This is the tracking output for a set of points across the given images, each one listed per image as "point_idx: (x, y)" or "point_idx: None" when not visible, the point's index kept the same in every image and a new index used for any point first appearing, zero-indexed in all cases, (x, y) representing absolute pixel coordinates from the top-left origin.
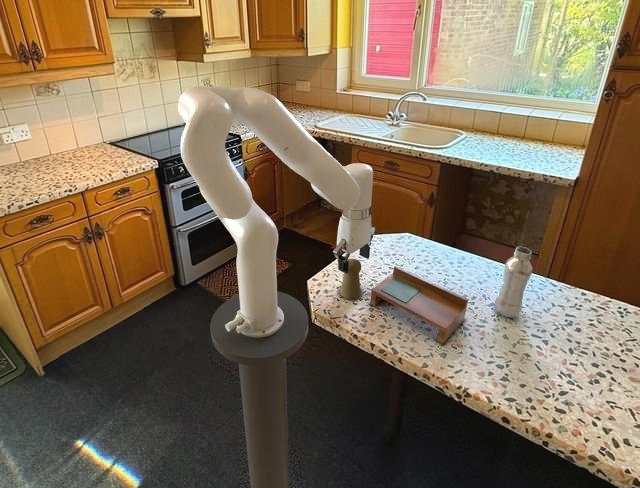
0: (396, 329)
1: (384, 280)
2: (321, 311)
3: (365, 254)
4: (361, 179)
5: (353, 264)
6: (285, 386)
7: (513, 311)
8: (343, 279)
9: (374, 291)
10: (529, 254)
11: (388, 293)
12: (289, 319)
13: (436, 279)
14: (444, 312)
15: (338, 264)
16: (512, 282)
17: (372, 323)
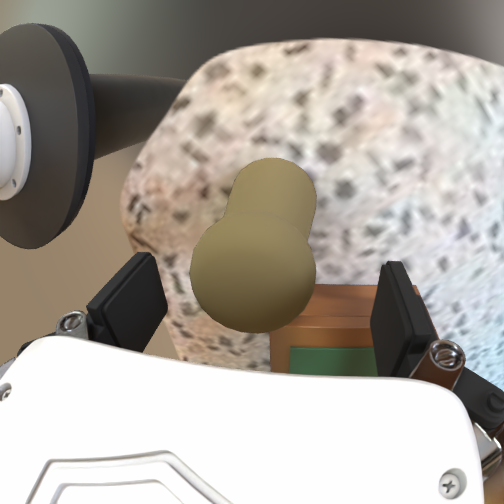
0: (243, 363)
1: (356, 330)
2: (125, 195)
3: (377, 327)
4: None
5: (225, 317)
6: (133, 142)
7: None
8: (227, 207)
9: (269, 334)
10: None
11: (290, 369)
12: (36, 181)
13: (480, 341)
14: None
15: (119, 273)
16: None
17: (212, 323)
